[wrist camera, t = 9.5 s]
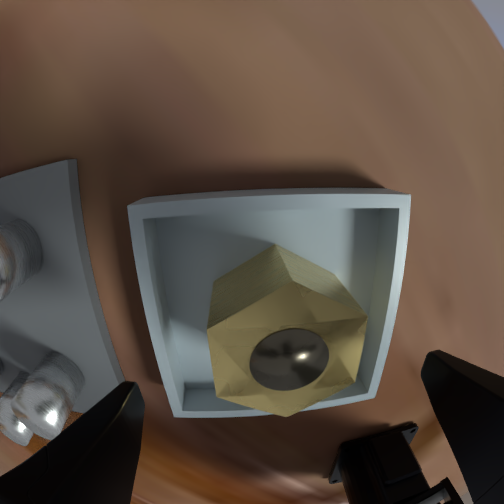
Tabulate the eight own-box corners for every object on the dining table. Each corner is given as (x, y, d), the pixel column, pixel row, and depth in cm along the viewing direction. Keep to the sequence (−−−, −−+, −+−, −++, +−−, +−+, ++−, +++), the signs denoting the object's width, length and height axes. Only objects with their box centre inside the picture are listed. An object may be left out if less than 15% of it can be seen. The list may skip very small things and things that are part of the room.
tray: (361, 374, 15) (374, 397, 13) (179, 390, 14) (174, 417, 12) (386, 188, 11) (410, 194, 10) (144, 197, 11) (127, 205, 9)
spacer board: (137, 410, 15) (134, 420, 14) (-10, 380, 14) (-15, 386, 13) (76, 158, 10) (67, 159, 9) (-68, 205, 10) (-76, 208, 9)
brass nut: (326, 355, 13) (348, 408, 10) (222, 364, 13) (220, 422, 10) (336, 240, 12) (374, 274, 8) (210, 246, 11) (200, 286, 8)
